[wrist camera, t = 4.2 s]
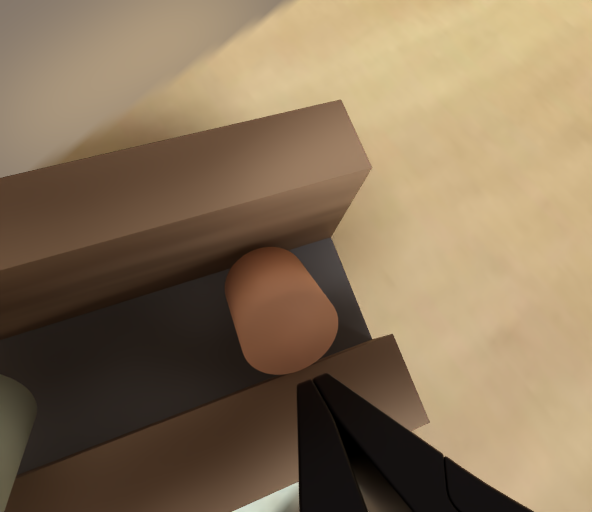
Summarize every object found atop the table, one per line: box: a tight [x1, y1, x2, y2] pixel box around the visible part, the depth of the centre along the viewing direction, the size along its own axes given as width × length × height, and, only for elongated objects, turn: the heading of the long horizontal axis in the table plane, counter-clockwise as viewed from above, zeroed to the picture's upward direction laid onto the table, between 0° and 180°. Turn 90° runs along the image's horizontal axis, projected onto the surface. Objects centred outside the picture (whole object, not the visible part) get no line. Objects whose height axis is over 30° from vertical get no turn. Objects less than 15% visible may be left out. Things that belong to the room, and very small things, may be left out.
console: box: [0, 100, 430, 512], centre depth 13 cm, size 10×16×9 cm, turn 110°
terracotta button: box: [225, 247, 338, 375], centre depth 12 cm, size 4×3×4 cm
